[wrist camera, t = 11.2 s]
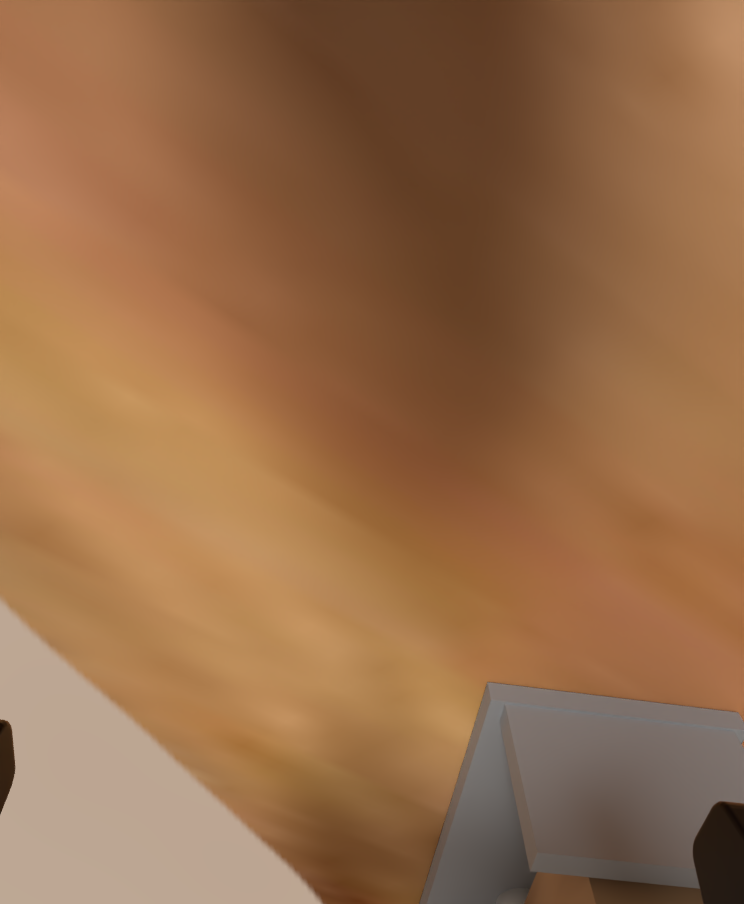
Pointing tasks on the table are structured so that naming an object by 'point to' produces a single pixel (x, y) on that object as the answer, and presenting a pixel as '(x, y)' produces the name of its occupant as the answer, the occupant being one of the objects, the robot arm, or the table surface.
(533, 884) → the brown rectangular block
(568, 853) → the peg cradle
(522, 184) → the table surface
